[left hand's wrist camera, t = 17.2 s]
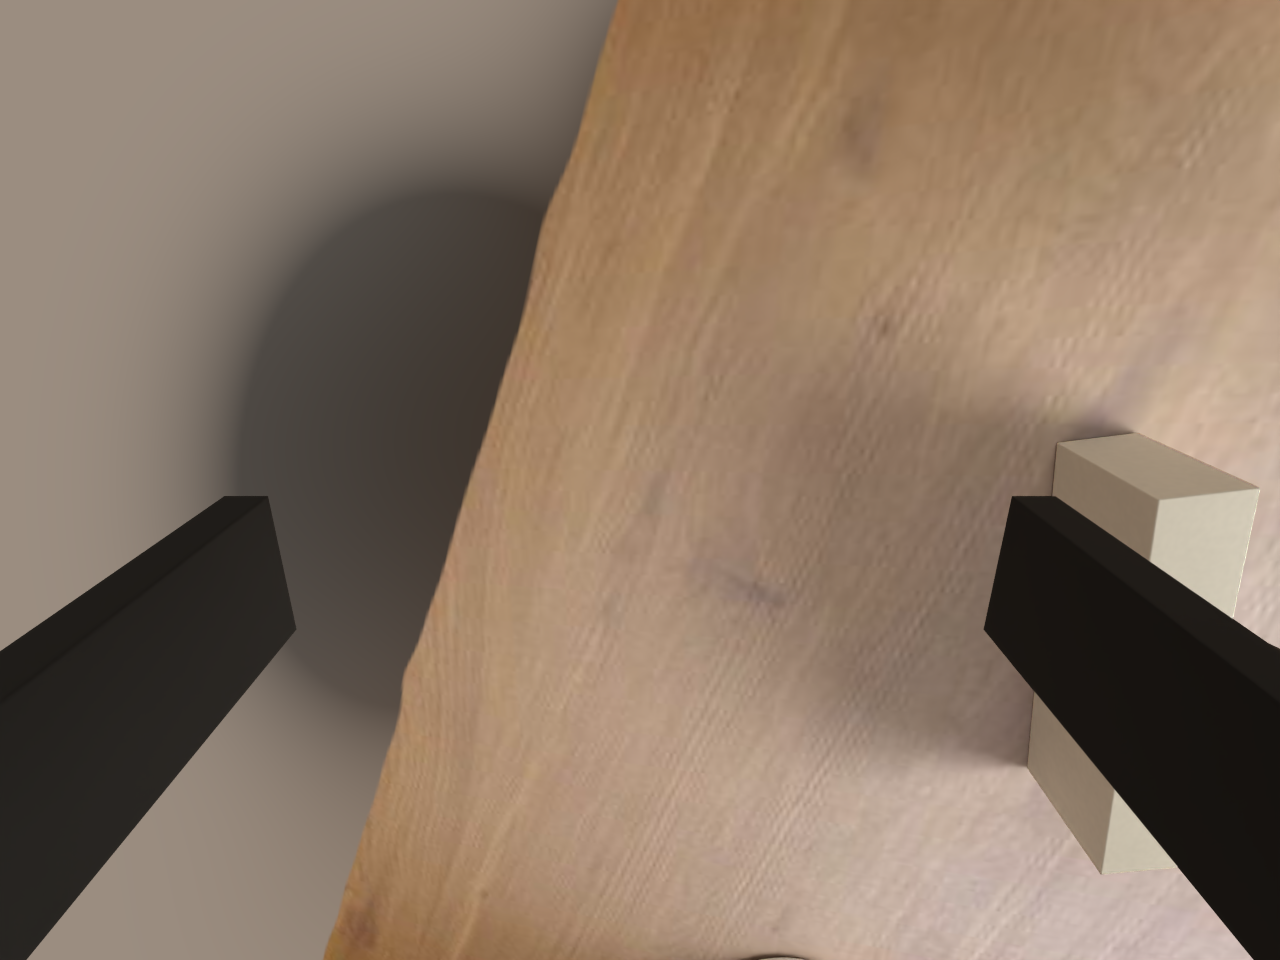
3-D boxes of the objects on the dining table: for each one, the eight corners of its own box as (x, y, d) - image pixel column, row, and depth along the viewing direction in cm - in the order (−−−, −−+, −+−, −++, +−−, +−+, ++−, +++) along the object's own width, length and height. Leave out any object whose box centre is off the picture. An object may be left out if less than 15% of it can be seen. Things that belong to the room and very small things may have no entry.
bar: (1056, 442, 43) (1158, 499, 35) (1138, 432, 43) (1261, 487, 35) (1026, 767, 53) (1100, 875, 44) (1093, 761, 53) (1180, 867, 44)
